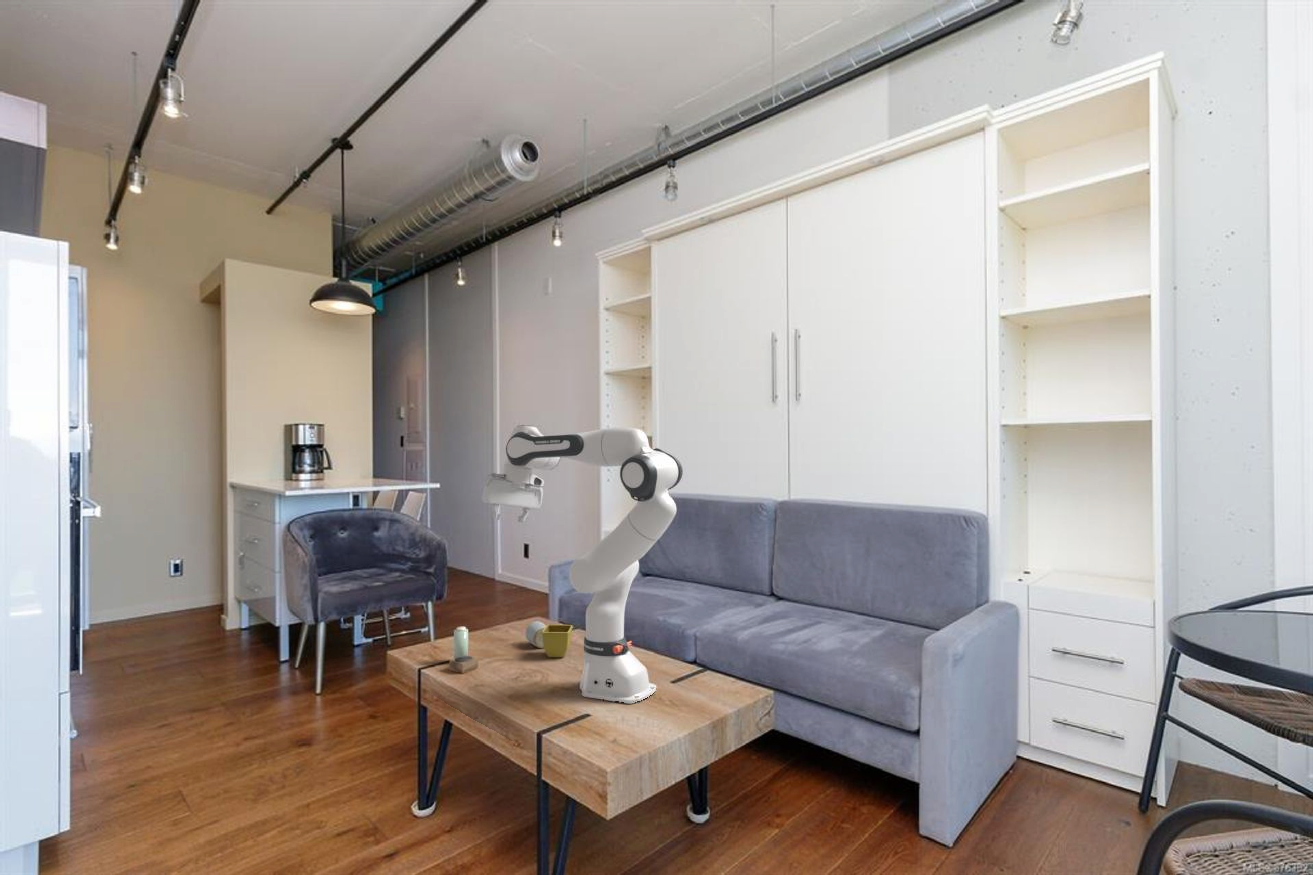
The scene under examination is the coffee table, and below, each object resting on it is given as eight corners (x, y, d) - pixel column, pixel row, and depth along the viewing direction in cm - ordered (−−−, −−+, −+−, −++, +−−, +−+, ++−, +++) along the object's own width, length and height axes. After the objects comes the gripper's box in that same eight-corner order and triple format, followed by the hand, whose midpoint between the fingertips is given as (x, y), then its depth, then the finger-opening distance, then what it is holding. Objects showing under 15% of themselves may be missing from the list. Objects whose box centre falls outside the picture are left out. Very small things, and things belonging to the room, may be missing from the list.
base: (477, 668, 201) (477, 658, 201) (462, 673, 196) (462, 663, 196) (464, 664, 204) (464, 654, 204) (449, 670, 199) (449, 659, 199)
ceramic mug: (533, 650, 219) (534, 627, 219) (525, 644, 226) (525, 622, 226) (562, 646, 224) (563, 624, 225) (553, 640, 231) (553, 618, 232)
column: (470, 660, 208) (471, 627, 208) (460, 664, 204) (460, 630, 204) (461, 658, 210) (461, 625, 211) (450, 662, 207) (451, 628, 207)
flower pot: (568, 660, 209) (568, 632, 209) (541, 659, 209) (541, 631, 210) (572, 651, 218) (572, 624, 218) (546, 651, 218) (546, 624, 218)
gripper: (493, 472, 192) (485, 518, 190) (548, 482, 206) (540, 525, 205) (482, 471, 196) (473, 516, 195) (536, 480, 211) (529, 522, 209)
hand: (508, 520), depth 200 cm, fingers open, 8 cm apart
